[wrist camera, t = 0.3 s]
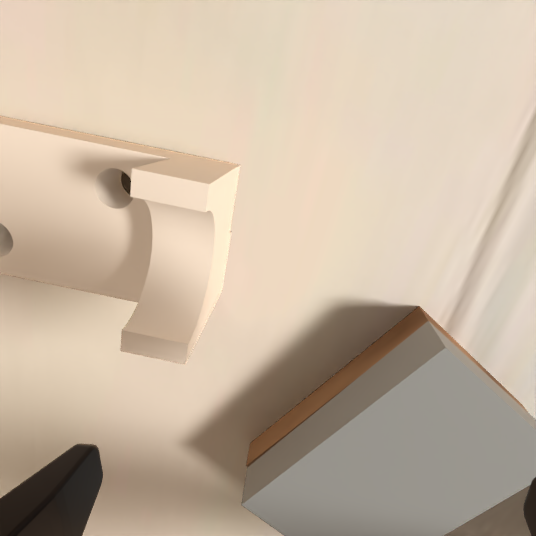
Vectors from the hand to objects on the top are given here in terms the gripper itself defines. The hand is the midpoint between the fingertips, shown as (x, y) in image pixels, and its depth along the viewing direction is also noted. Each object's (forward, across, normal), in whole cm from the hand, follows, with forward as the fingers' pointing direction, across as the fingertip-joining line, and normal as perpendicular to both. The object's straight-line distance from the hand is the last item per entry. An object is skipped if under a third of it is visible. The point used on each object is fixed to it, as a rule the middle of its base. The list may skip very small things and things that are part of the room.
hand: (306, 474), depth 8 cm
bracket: (+14, +10, -2) cm, 18 cm away
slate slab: (+12, -5, +11) cm, 17 cm away
